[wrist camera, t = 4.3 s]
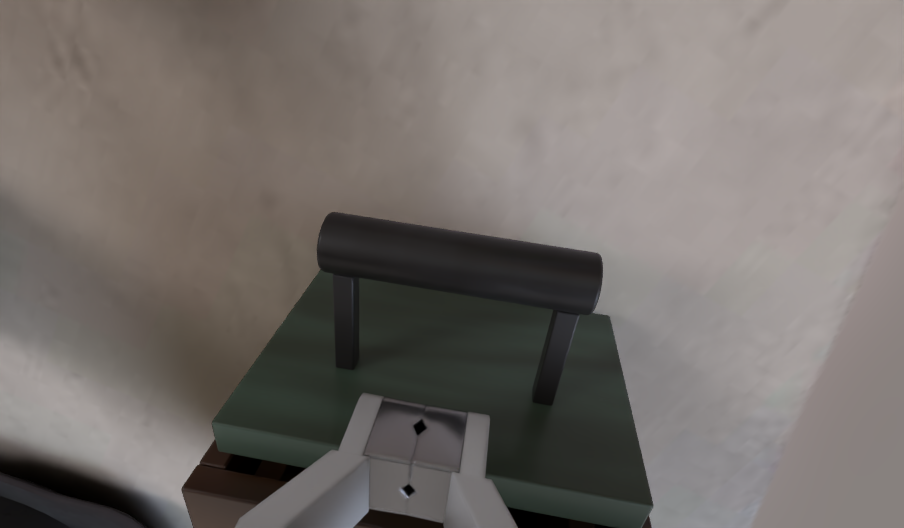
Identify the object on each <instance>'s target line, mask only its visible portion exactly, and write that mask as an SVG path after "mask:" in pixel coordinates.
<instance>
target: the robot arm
mask: <svg viewBox="0 0 904 528" xmlns="http://www.w3.org/2000/svg"><path fill="white" fill-rule="evenodd" d="M489 426H490V417H489V415H485V414H479V413H474V412H468V413H467V411H463V410H457V409H451V408H445V407H439V406H433V405H427V404H426V405H424V404H419V403H414V402H409V401H404V400H399V399H395V398H390V397H384V396H379V395H373V394H368V393H363V394H362V395H361V396H360V398H359V400H358V402H357V405H356V407H355V410H354V412H353V415H352V417H351V420H350V422H349V425H348V427H347V430H346V432H345V435H344V437H343V440H342V442H341V445H340V447H339V450H338V451H337V450H331V451H329V452H328V453H327V454H325V455H324V456H323V457H321V458H320V459H319V460H317V461H316V462H314V463H313V464H312V465H310V466H309V467H308V468H306V469H305V470H304V471H302V472H301V473H300V474H298V475H297V476H296V477H294V478H293V479H292V480H290V481H289V482H288V483H286V484H285V485H284V486H282V487H281V488H280V489H278V490H277V491H276V492H274V493H273V494H271V495H270V496H269V497H267V498H266V499H265V500H263V501H262V502H261V503H259V504H258V505H257V506H255V507H254V508H253V509H251V510H250V511H249V512H247V513H246V514H245V515H243V516H242V517H241V518H239V520H238V522H237V524H236V526H235V528H353V527H354V526H355V525H356V524H357V523H358V522H359V521H360V520H361V519H362V518H363V517H364V516H365V515H366V514H367V513H368V512H369V509H372V510H378V511H384V512H390V513H396V514H403V515H406V514H407V515H408V516H412V517H417V518H421V519H426V520H430V521H435V522H439V523H444V524H443V526H444V528H518V527H517V525H516V523H515V521H514V519H513V518H512V516H511V514H510V512H509V510H508V508H507V507H506V505H505V503H504V501H503V499H502V498H501V496H500V494H499V492H498V490H497V488H496V487H495V485H494V483H493V481H492V479H487V478H485V473H486V461H487V450H488V438H489Z"/></svg>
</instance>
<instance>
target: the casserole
mask: <svg viewBox="0 0 904 528" xmlns="http://www.w3.org/2000/svg"><path fill="white" fill-rule="evenodd" d="M0 528H147V527H145V526H144V525H143V524H141V523H140V522H138V521H137V520H135V519H134V518H133V517H131V516H130V515H128V514H126V513H123V512H121V511H119V510H116V509H114V508H111V507H108V506H104V505H100V504H96V503H93V502H89V501H85V500H81V499H77V498H73V497H70V496H66V495H62V494H60V493H58V492H56V491H53V490H51V489H49V488H47V487H45V486H42V485H39V484H36V483H33V482H31V481H28V480H25V479H21V478H17V477H13V476H9V475H7V474H4V473H1V472H0Z"/></svg>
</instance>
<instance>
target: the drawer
mask: <svg viewBox="0 0 904 528" xmlns="http://www.w3.org/2000/svg"><path fill="white" fill-rule="evenodd" d="M317 260H318V265H319V267H320V269H321V270H320V271H319V273H318V274H317V275H316V277H315V278H314V280H313V281H312V282H311V284H310V285H309V287H308V288H307V289H306V291H305V292H304V294H303V295H302V296H301V298H300V299H299V301H298V302H297V303H296V305H295V306H294V308H293V309H292V310H291V312H290V313H289V315H288V316H287V317H286V319H285V320H284V322H283V323H282V324H281V326H280V327H279V329H278V330H277V331H276V333H275V334H274V336H273V337H272V338H271V340H270V341H269V343H268V344H267V345H266V347H265V348H264V350H263V351H262V352H261V354H260V355H259V357H258V358H257V359H256V361H255V362H254V364H253V365H252V366H251V368H250V369H249V371H248V372H247V373H246V375H245V376H244V378H243V379H242V381H241V382H240V383H239V385H238V386H237V388H236V389H235V390H234V392H233V393H232V395H231V396H230V397H229V399H228V400H227V402H226V403H225V404H224V406H223V407H222V409H221V410H220V411H219V413H218V414H217V416H216V417H215V418H214V420H213V421H212V427H213V431H214V436H215V440H216V444H217V448H218V451H220V452H225V453H230V454H235V455H240V456H245V457H251V458H256V459H261V460H262V462H261V464H260V466H259V468H258V469H257V471H256V473H255V476H260V477H265V478H270V479H275V480H280V481H285V482H289V481H290V480H292V479H293V478H294V477H296V476H297V475H298V474H300V473H301V472H302V471H304V470H305V469H306V468H308V467H309V466H310V465H312V464H313V463H314V462H316V461H317V460H319V459H320V458H321V457H323V456H324V455H325V454H327V453H328V452H329V451H331V450H337V451H338V450H339V447H340V445H341V442H342V440H343V437H344V435H345V432H346V430H347V427H348V425H349V422H350V420H351V417H352V415H353V412H354V410H355V407H356V405H357V402H358V400H359V398H360V396H361V395H362V394H363V393H368V394H373V395H379V396H384V397H390V398H395V399H399V400H404V401H409V402H414V403H419V404H424V405H426V404H427V405H433V406H439V407H445V408H451V409H457V410H463V411H467V413H468V412H474V413H479V414H485V415H489V417H490V426H489V438H488V450H487V461H486V473H485V478H487V479H492V481H493V483H494V485H495V487H496V488H497V490H498V492H499V494H500V496H501V498H502V499H503V501H504V503H505V505H506V507H507V508H508V510H509V512H510V514H511V516H512V518H513V519H514V521H515V523H516V525H517V527H521V528H595V524H598V525H603V526H608V527H614V528H642V526H643V525H644V523H645V521H646V519H647V517H648V515H649V514H650V512H651V510H652V508H653V502H652V497H651V493H650V489H649V484H648V480H647V476H646V471H645V467H644V463H643V458H642V454H641V450H640V445H639V441H638V437H637V432H636V428H635V424H634V420H633V415H632V411H631V407H630V402H629V398H628V394H627V389H626V385H625V381H624V376H623V372H622V368H621V363H620V359H619V355H618V350H617V346H616V342H615V337H614V333H613V329H612V324H611V320H610V317H609V316H607V315H601V314H595V313H592V312H593V311H594V309H595V307H596V305H597V302H598V299H599V295H600V291H601V286H602V278H603V263H602V258H601V256H600V255H599V254H598V253H594V252H588V251H581V250H575V249H568V248H562V247H556V246H549V245H543V244H536V243H530V242H524V241H517V240H511V239H504V238H498V237H491V236H485V235H479V234H472V233H466V232H459V231H453V230H447V229H440V228H434V227H427V226H421V225H415V224H408V223H402V222H395V221H389V220H383V219H376V218H370V217H363V216H357V215H351V214H344V213H338V212H332V213H330V214H328V215H327V216H326V218H325V220H324V222H323V224H322V227H321V230H320V233H319V238H318V244H317Z"/></svg>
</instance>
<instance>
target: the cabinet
mask: <svg viewBox="0 0 904 528" xmlns="http://www.w3.org/2000/svg"><path fill="white" fill-rule="evenodd" d="M261 462H262V460H261V459H256V458H251V457H245V456H240V455H235V454H230V453H225V452H220V451H218V448H217V444H216V440H214V442H213V443H212V445H211V446H210V447H209V449H208V450H207V452H206V453H205V455H204V456H203V458H202V459H201V461H200V464H199V465H197V466H196V468H195V469H194V471H193V472H192V474H191V475H190V477H189V478H188V479H187V481H186V482H185V484H184V485H183V487H182V493H183V497H184V500H185V503H186V506H187V509H188V512H189V515H190V518H191V522H192V525H193V528H235V526H236V524H237V522H238V520H239V518H241V517H242V516H243V515H245V514H246V513H247V512H249V511H250V510H251V509H253V508H254V507H255V506H257V505H258V504H259V503H261V502H262V501H263V500H265V499H266V498H267V497H269V496H270V495H271V494H273V493H274V492H276V491H277V490H278V489H280V488H281V487H282V486H284V485H285V484H286V483H288V482H285V481H280V480H275V479H270V478H265V477H260V476H255V473H256V471H257V469H258V468H259V466H260V464H261ZM443 524H444V523H439V522H435V521H430V520H426V519H421V518H417V517H412V516H408V515H407V514H406V515H403V514H396V513H390V512H384V511H378V510H372V509H369V512H368V513H367V514H366V515H365V516H364V517H363V518H362V519H361V520H360V521H359V522H358V523H357V524H356V525H355V526H354V527H353V528H444V526H443ZM518 528H521V527H518ZM595 528H614V527H608V526H603V525H598V524H595ZM642 528H652V527H651V522H650V518H649V515H648V517H647V519H646V521H645V523H644V525H643V526H642Z"/></svg>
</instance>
